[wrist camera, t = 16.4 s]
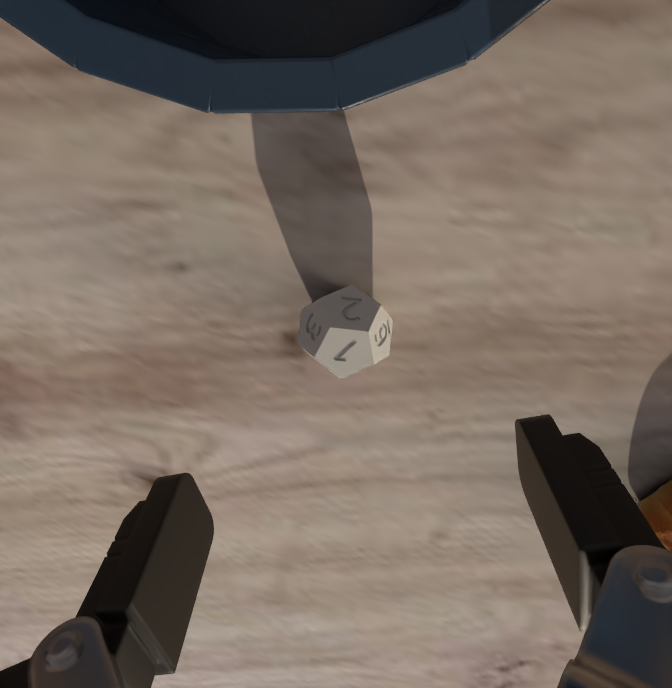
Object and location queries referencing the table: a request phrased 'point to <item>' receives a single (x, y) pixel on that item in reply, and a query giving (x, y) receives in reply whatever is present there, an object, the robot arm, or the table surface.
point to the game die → (345, 331)
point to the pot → (267, 46)
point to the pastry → (660, 513)
